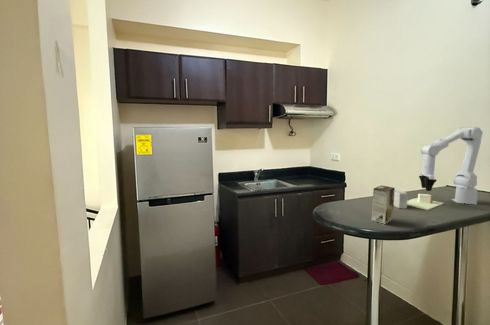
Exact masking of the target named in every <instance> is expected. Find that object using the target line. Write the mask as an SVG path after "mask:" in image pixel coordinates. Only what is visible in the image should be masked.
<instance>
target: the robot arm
mask: <svg viewBox="0 0 490 325" xmlns="http://www.w3.org/2000/svg"><path fill="white" fill-rule="evenodd" d="M482 138H483V130H482V129H481V128H480V127H463V126H461V127H459V128H457V129H455V131H453V133H451V134H450V135H448V136H446V137H444V138H437V139H436V140H435V141H434V142H431V143H430V144H427V145H426V144H425V145H423V147H422V149H420V153H421V154H422V165H421V166H422V167H421V172H419V173H418V178H419V179H420V184H421V188H422V189H425V191H426V192H431V191H432V189H433V187H434V185H435V183H436V182H437V179H435V166H436V156H438V155H439V153H440V152H441V151H442V150H444V149H445V148H447V147H449V145H450V144H451V143H453V142H455V141H458V140H459V139H461V140H462V141H463V142H465V143H466V145H467V146H466V150H465V154H464V158H463V162H462V165H461V169H460V170H459V171H458V172H456V174H455V176H454V178H453V180H452V181H453V184H454V185H455V187H456V188H455V194H454V198H451V200H452V201H453V202H455V203H457V204H464V203H465V204H466V205H467V204H469V205H478V194H479V193H478V189H477V188H475V187H476V186H477V185H478V180H477V178H478V176H477V175H476V174H475V173H474V170H475V166H476V162H477V158H478V154H479V150H480V148H481V143H482Z"/></svg>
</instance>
